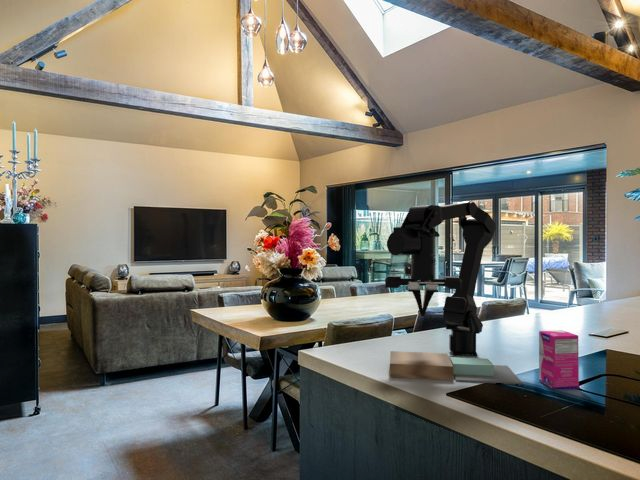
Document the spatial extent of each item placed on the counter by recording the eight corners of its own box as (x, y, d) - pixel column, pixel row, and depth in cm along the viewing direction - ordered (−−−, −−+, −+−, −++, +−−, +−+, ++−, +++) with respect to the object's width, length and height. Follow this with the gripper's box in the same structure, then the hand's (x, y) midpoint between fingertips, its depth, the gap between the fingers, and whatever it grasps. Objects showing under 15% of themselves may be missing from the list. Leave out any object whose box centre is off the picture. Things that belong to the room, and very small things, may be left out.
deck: (447, 365, 114) (447, 353, 114) (453, 379, 102) (453, 366, 102) (390, 362, 116) (390, 351, 116) (390, 376, 104) (390, 363, 104)
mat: (507, 367, 113) (507, 365, 113) (523, 384, 99) (523, 383, 99) (448, 364, 115) (448, 362, 115) (456, 381, 101) (456, 379, 101)
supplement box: (537, 381, 101) (538, 330, 101) (563, 381, 102) (563, 329, 102) (553, 390, 96) (553, 335, 96) (580, 389, 96) (580, 335, 96)
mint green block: (487, 368, 110) (487, 358, 110) (493, 375, 104) (493, 365, 104) (449, 367, 111) (449, 357, 111) (453, 374, 105) (453, 363, 105)
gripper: (456, 254, 122) (456, 312, 122) (386, 253, 125) (385, 310, 125) (462, 255, 111) (462, 319, 111) (385, 254, 114) (385, 317, 114)
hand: (422, 316), depth 116 cm, fingers closed
